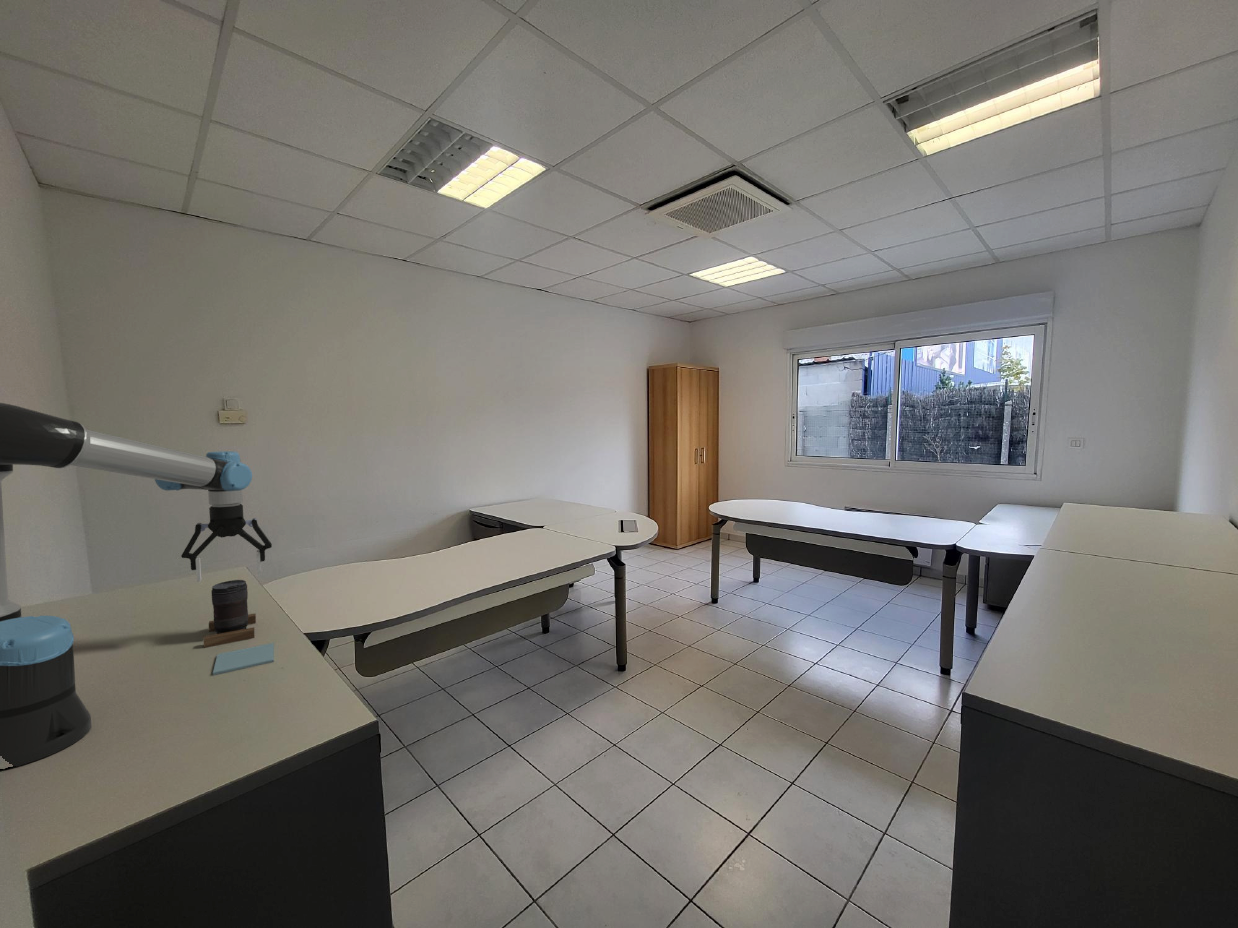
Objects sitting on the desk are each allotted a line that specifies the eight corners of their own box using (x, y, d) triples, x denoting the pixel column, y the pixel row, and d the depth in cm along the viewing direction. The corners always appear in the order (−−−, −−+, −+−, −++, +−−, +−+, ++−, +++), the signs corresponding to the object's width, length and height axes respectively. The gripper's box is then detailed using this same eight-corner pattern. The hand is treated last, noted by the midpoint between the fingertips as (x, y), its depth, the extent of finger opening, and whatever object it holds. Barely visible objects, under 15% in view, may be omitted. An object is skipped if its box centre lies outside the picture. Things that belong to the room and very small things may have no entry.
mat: (273, 661, 122) (273, 659, 122) (212, 675, 115) (212, 672, 115) (273, 644, 132) (273, 642, 132) (217, 656, 125) (217, 654, 125)
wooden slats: (254, 637, 136) (253, 626, 136) (203, 647, 130) (203, 635, 130) (255, 620, 148) (255, 610, 148) (209, 629, 142) (209, 617, 142)
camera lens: (208, 635, 137) (205, 585, 136) (240, 625, 144) (238, 577, 144) (221, 641, 134) (219, 589, 133) (254, 631, 141) (252, 582, 140)
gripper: (279, 499, 147) (282, 566, 149) (169, 506, 132) (174, 580, 134) (279, 502, 141) (282, 572, 143) (164, 510, 126) (169, 588, 128)
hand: (230, 576), depth 138 cm, fingers open, 13 cm apart
